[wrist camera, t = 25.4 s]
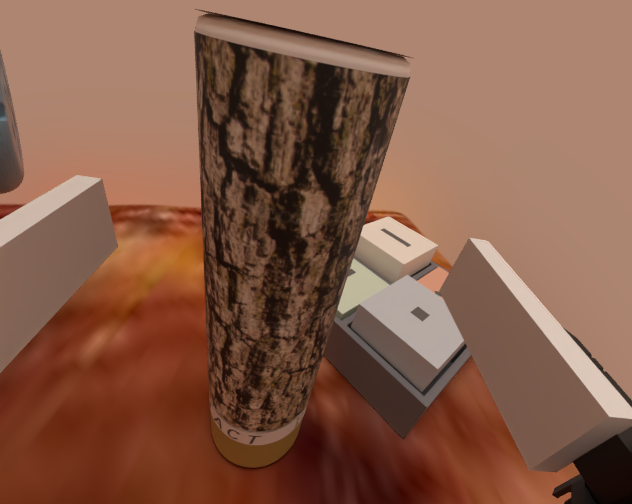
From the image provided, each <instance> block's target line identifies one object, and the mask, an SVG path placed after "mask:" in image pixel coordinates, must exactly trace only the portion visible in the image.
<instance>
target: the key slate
mask: <svg viewBox="0 0 632 504" xmlns="http://www.w3.org/2000/svg"><path fill="white" fill-rule="evenodd" d="M351 328H352V329H353V330H354V331H355V332H356V333H357V334H358V335H359V336H360V337H361V338H363V339H364V340H365V341H366V342H367V343H368V344H369V345H370V346H371V347H372V348H374V349H375V350H376V351H377V352H378V353H379V354H380V355H381V356H382V357H383V358H385V359H386V360H387V361H388V362H389V363H390V364H391V365H392V366H393V367H394V368H395V369H397V370H398V371H399V372H400V373H401V374H402V375H403V376H404V377H405V378H406V379H408V380H409V381H410V382H411V383H412V384H413V385H414V386H415V387H416V388H417V389H419V390H420V391H421V392H423V391H424V389H425V388H426V387H427V386H428V385H429V384H430V383H431V382H432V380H433V379H434V378H435V377H436V376H437V375H438V374H439V373H440V371H441V370H442V369H443V368H444V367H445V366H446V365H447V364H448V363H449V361H450V360H451V359H452V358H453V357H454V356H455V355H456V354H457V352H458V351H459V350H460V349H461V348H462V347H463V346H464V344H465V341H464V339H463V337H462V335H461V333H460V331H459V329H458V327H457V325H456V323H455V321H454V319H453V317H452V315H451V313H450V311H449V309H448V307H447V305H446V303H445V301H444V299H442V298H441V297H439V296H438V295H436V294H435V293H433V292H432V291H431V290H429V289H428V288H426V287H425V286H423V285H422V284H420V283H419V282H417V281H416V280H415V279H413V278H412V277H410V276H409V275H406V276H404V277H403V278H401V279H399V280H398V281H396V282H394V283H393V284H391V285H389V286H388V287H386V288H384V289H383V290H381V291H380V292H378V293H376V294H375V295H373V296H371V297H370V298H368V299H366V300H365V301H363V302H361V303H360V304H359V306H358V308H357V311H356V314H355V317H354V319H353V322H352V325H351Z"/></svg>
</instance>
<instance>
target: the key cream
mask: <svg viewBox="0 0 632 504" xmlns="http://www.w3.org/2000/svg"><path fill="white" fill-rule="evenodd" d="M437 247H438V245H437V244H435V243H433V242H432V241H430V240H428V239H427V238H425V237H423V236H421V235H420V234H418V233H416V232H415V231H413V230H411V229H409V228H408V227H406V226H404V225H403V224H401V223H399V222H397V221H396V220H394V219H392V218H391V217H386V218H383V219H380V220H377V221H374V222H372V223H369V224H366V225H364V226H363V229H362V232H361V235H360V238H359V242H358V245H357V248H356V251H355V254H354V256H355V257H356V258H357V259H359V260H360V261H361V262H363V263H364V264H366V265H367V266H368V267H370V268H371V269H372V270H374V271H375V272H376V273H378V274H379V275H381V276H382V277H383V278H385V279H386V280H387V281H389V282H390V283H392V284H393V283H394V282H396V281H398V280H399V279H401V278H403V277H404V276H406V275H409V276H411V275H413V274H415V273H416V272H418V271H419V270H421V269H423V268H424V267H426V266H428V265H429V263H430V261H431V259H432V257H433V255H434V253H435V251H436V249H437Z"/></svg>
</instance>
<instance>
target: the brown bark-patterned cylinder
mask: <svg viewBox="0 0 632 504" xmlns="http://www.w3.org/2000/svg"><path fill="white" fill-rule="evenodd" d="M199 11H200V10H199ZM201 11H203V10H201ZM203 12H207V11H203ZM207 13H208V14H205V15H203V16H199V17H198V20H197V23H196V27H195V31H194V34H195V35H194V37H195V61H196V82H197V107H198V108H197V110H198V133H199V158H200V183H201V207H202V231H203V256H204V280H205V304H206V329H207V353H208V377H209V402H210V417H211V432H212V437H213V440H214V442H215V444H216V447H217V448H218V450H219V451H220V453H221V454H222V455H223V456H224V457H225V458H226V459H228V460H229V461H231V462H232V463H234V464H236V465H239V466H243V467H248V468H256V467H262V466H266V465H269V464H271V463H273V462H275V461H277V460H278V459H280V458H281V457H282V456H283V455H284V454H285V453H286V452H287V451H288V450H289V449H290V448H291V446H292V445H293V443H294V441H295V440H296V437H297V435H298V432H299V429H300V426H301V422H302V419H303V416H304V413H305V411H306V408H307V404H308V401H309V398H310V395H311V392H312V388H313V385H314V382H315V379H316V376H317V372H318V369H319V366H320V363H321V360H322V356H323V353H324V350H325V347H326V344H327V340H328V337H329V334H330V331H331V328H332V325H333V321H334V318H335V315H336V312H337V309H338V305H339V302H340V299H341V296H342V293H343V289H344V286H345V283H346V280H347V277H348V273H349V270H350V267H351V264H352V261H353V258H354V254H355V251H356V248H357V245H358V242H359V238H360V235H361V232H362V229H363V226H364V222H365V219H366V216H367V213H368V210H369V206H370V203H371V200H372V197H373V193H374V190H375V187H376V184H377V181H378V177H379V174H380V171H381V168H382V165H383V162H384V159H385V155H386V152H387V149H388V146H389V143H390V139H391V136H392V133H393V130H394V127H395V123H396V120H397V117H398V114H399V110H400V107H401V104H402V101H403V98H404V95H405V92H406V88H407V85H408V82H409V79H410V77H409V76H410V63H409V62H408V61H406V59H405V58H404V57H407V56H404V55H400V54H396V53H392V52H387V51H383V50H379V49H375V48H371V47H366V46H362V45H357V44H353V43H349V42H344V41H340V40H335V39H331V38H327V37H322V36H318V35H313V34H309V33H304V32H300V31H296V30H291V29H286V28H282V27H278V26H273V25H268V24H264V23H259V22H255V21H250V20H245V19H241V18H236V17H231V16H227V15H222V14H217V13H212V12H207ZM209 13H211V14H209ZM214 14H215V15H214ZM398 55H399V56H398ZM402 56H404V57H402ZM409 58H411V57H409Z"/></svg>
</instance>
